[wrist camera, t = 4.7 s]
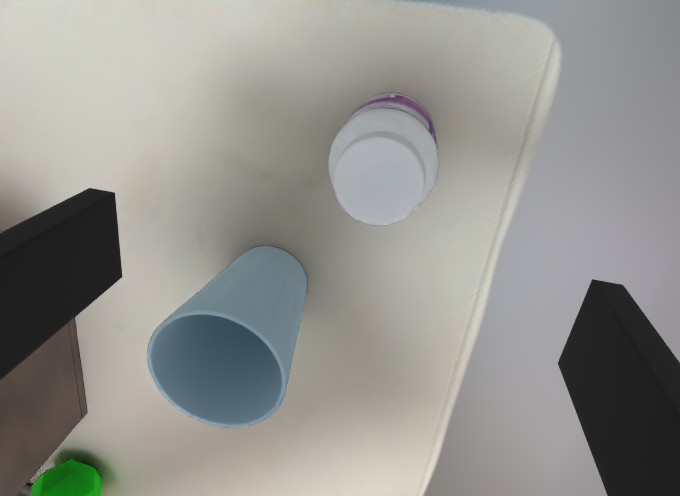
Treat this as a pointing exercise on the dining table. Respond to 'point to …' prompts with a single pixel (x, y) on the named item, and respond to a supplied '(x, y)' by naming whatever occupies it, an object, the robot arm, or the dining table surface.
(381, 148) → the pill bottle
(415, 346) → the dining table surface
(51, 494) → the green faceted ball
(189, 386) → the cup
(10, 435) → the bin
